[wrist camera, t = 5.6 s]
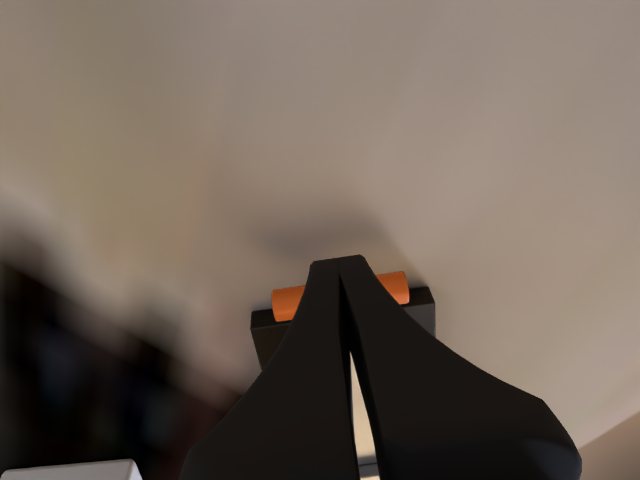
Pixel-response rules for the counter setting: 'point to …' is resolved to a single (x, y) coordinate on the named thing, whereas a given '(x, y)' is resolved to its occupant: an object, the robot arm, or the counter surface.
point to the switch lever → (285, 309)
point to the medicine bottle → (78, 471)
